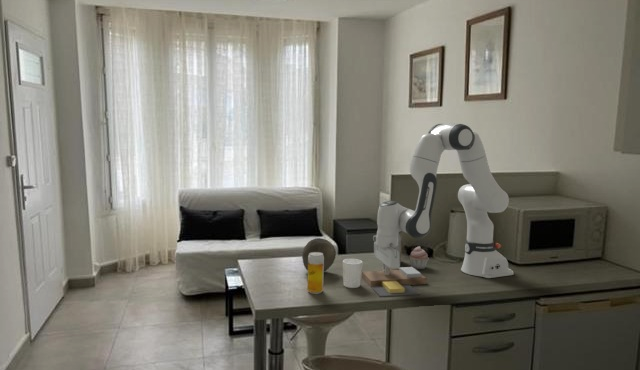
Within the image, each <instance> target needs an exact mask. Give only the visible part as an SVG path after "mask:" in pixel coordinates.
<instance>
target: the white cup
mask: <svg viewBox="0 0 640 370" xmlns="http://www.w3.org/2000/svg"><path fill="white" fill-rule="evenodd" d="M362 272H363V260H361V259H359V258H345V259H343V260H342V279H343V282H342V283H343V286H344V287H345V288H349V289H355V288H356V289H357V288H359V287H361V280H362Z"/></svg>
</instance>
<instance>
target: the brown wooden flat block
mask: <svg viewBox="0 0 640 370" xmlns="http://www.w3.org/2000/svg"><path fill="white" fill-rule="evenodd" d="M361 279H363V280H364V281H365V283H366V284H368V286H369V287H370V288H371V286H382V282H383V281H397V282H398V283H399V284H400V285H403V284H409V285H410V286H411V285H413V286H414V285H427V284H428V279H427V276H425V275H424V274H423V273H421V277H413V278H407V277H406V276H404V275H403V274H402V273H401V272H399V269H393V270H392V269H390V271H389V275H386V274H385V273H383V270H371V271H370V270H368V271H362V273H361Z"/></svg>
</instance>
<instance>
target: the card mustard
mask: <svg viewBox="0 0 640 370" xmlns="http://www.w3.org/2000/svg"><path fill="white" fill-rule="evenodd" d="M382 286H383V287H384V288H385V289H386V290H387V291H388V292H389V293H402V292H405V288H404V287H403V286H401V285H400V284H399V283H398V282H397V281H383V282H382Z"/></svg>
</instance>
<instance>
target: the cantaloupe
mask: <svg viewBox="0 0 640 370" xmlns="http://www.w3.org/2000/svg"><path fill="white" fill-rule="evenodd" d="M311 252H320V253H323V256H324V272H326V271H327V270H329V269H330V267H331V266H332V265H333V264H334V262H335V259H336V255H337V252H336V249H335V246H334V245H333V244H332V242H331V241H329V240H327V239H325V238H320V237H317V238H313V239H311V240H310V241H308V242H307V243H306V245H305V246H304V248H303V249H302V254H301V256H302V263H303V266H304V268H305V269H306V271H308V256H309V253H311Z"/></svg>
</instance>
